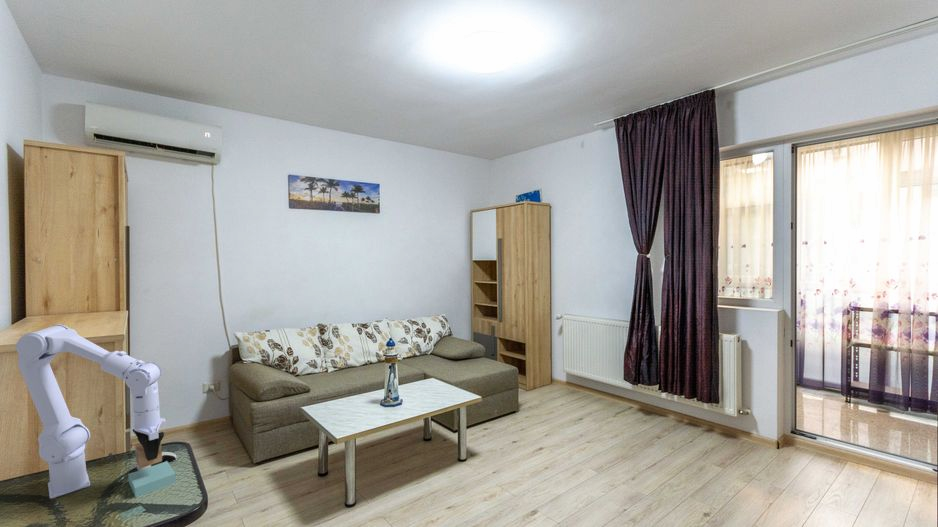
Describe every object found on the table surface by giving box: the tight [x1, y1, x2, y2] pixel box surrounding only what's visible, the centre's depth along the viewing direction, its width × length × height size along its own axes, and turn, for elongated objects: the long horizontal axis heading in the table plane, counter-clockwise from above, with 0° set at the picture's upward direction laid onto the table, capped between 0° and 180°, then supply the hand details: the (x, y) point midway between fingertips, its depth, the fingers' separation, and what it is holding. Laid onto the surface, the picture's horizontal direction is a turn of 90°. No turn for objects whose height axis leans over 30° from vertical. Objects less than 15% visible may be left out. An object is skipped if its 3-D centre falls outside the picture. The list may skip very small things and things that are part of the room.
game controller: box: [136, 451, 178, 471], centre depth 128 cm, size 10×5×6 cm
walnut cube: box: [134, 442, 163, 468], centre depth 120 cm, size 5×5×5 cm
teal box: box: [127, 461, 177, 498], centre depth 120 cm, size 9×9×3 cm
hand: (149, 455), depth 120 cm, fingers closed on walnut cube, 5 cm apart
